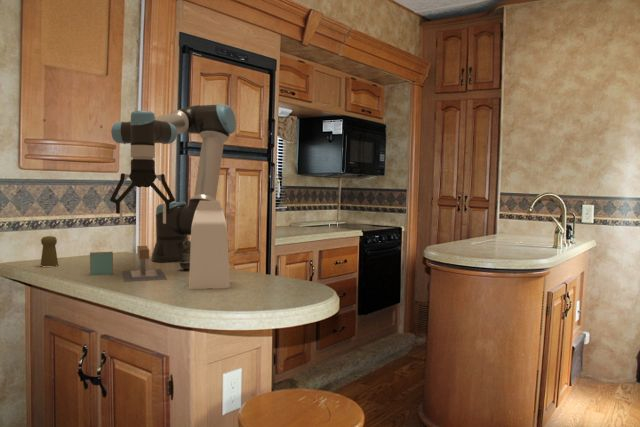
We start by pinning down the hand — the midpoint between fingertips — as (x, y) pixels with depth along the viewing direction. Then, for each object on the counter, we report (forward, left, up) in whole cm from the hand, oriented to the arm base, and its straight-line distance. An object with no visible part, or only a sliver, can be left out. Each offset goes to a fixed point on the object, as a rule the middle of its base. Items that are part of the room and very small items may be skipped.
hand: (143, 223), depth 180 cm
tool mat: (0, -1, -18) cm, 18 cm away
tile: (+13, -7, -18) cm, 23 cm away
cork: (+31, -35, -18) cm, 50 cm away
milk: (-18, +20, -18) cm, 33 cm away
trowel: (0, -1, -17) cm, 17 cm away
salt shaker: (-15, -7, -18) cm, 24 cm away
